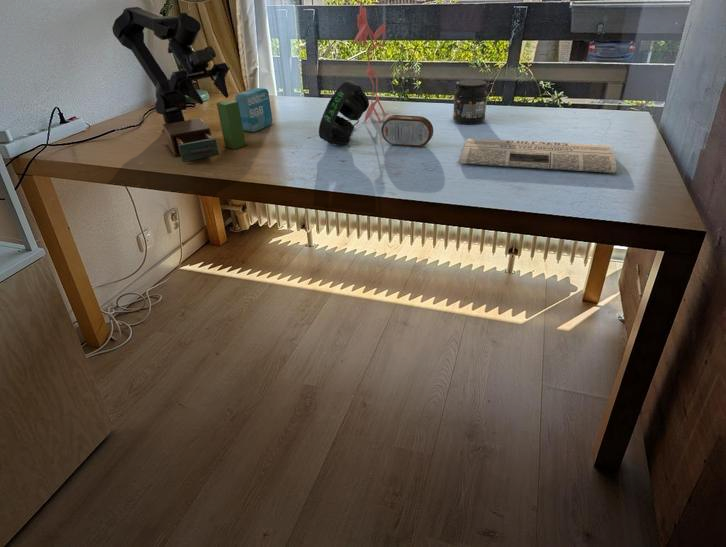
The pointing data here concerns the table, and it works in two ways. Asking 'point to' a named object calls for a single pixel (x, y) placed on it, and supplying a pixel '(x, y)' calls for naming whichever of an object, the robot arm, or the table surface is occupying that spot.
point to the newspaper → (539, 155)
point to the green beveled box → (231, 124)
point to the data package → (254, 109)
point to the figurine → (361, 36)
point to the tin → (407, 130)
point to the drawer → (196, 146)
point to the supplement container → (470, 101)
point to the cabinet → (183, 131)
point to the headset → (343, 113)
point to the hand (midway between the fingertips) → (215, 100)
